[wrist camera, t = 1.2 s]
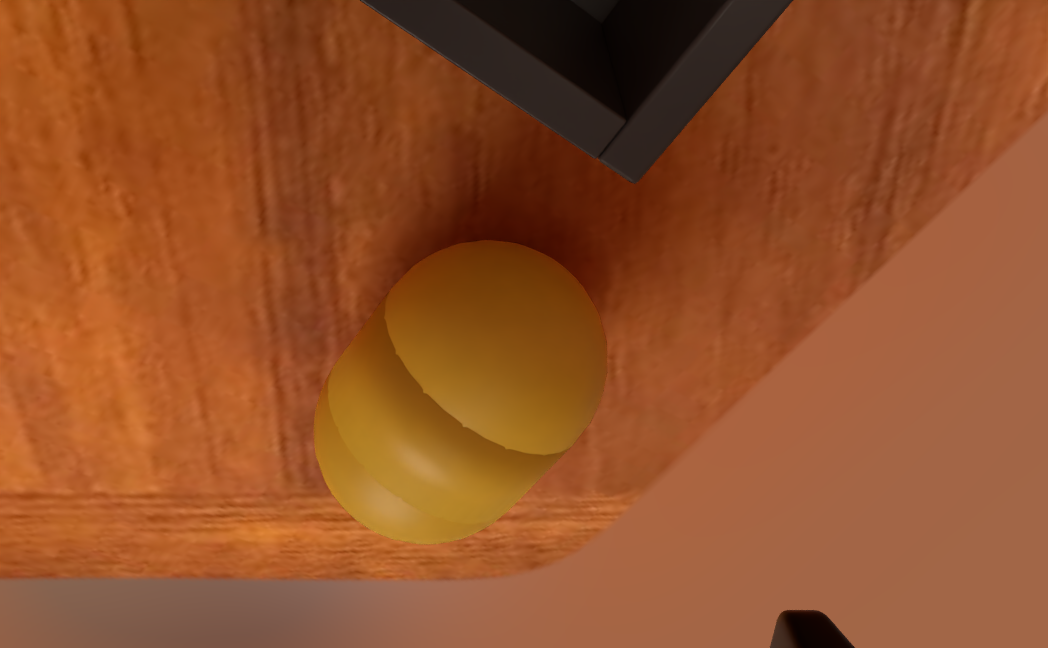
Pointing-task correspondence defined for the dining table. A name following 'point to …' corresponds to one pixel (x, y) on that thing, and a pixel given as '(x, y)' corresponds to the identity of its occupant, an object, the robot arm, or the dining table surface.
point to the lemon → (460, 392)
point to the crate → (595, 61)
